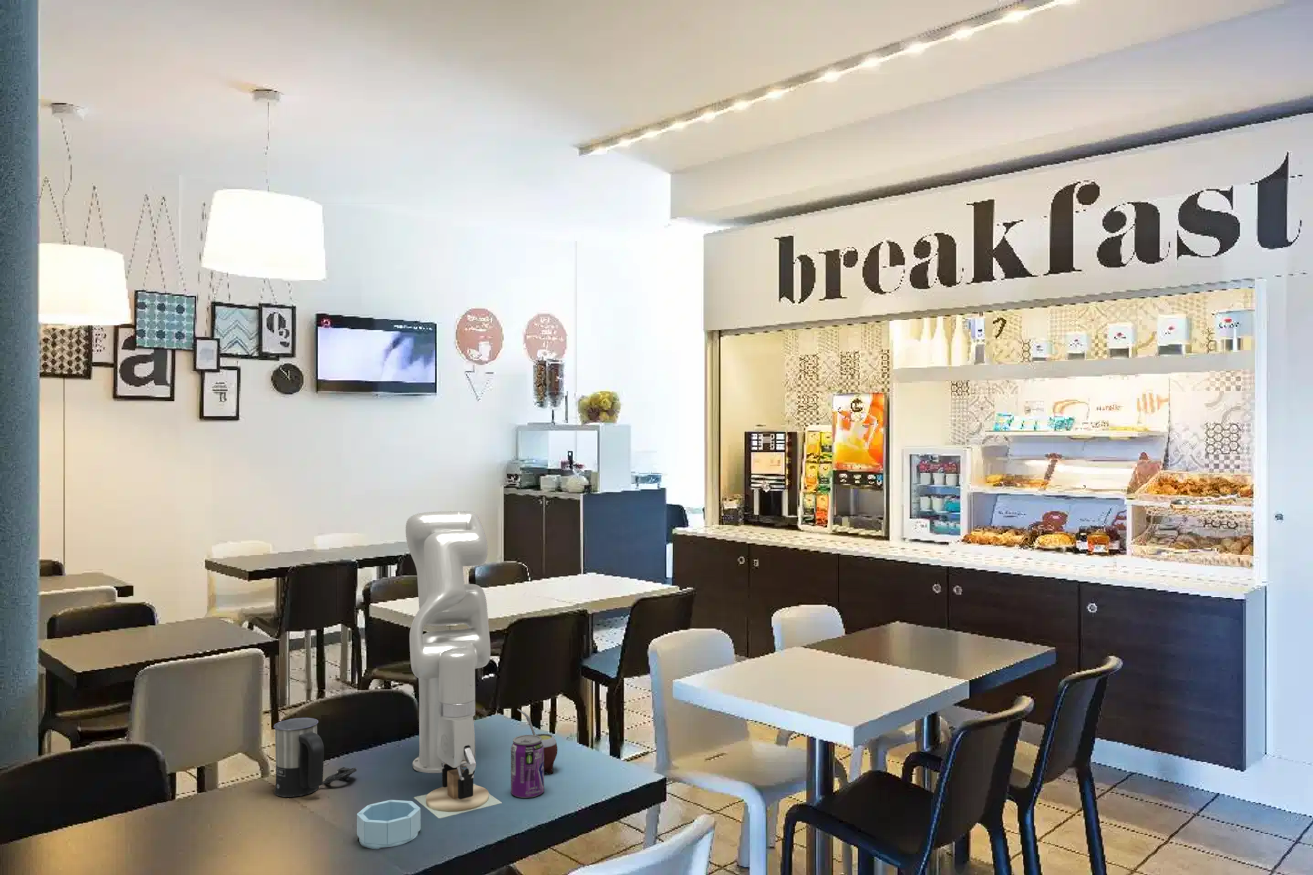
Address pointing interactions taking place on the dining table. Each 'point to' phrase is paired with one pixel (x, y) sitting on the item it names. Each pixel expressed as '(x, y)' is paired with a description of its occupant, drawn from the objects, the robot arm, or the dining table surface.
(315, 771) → the milk frother
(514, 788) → the beverage can
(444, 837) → the dining table surface
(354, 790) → the dining table surface
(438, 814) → the mat
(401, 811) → the bowl
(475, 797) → the lid
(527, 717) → the mate gourd
